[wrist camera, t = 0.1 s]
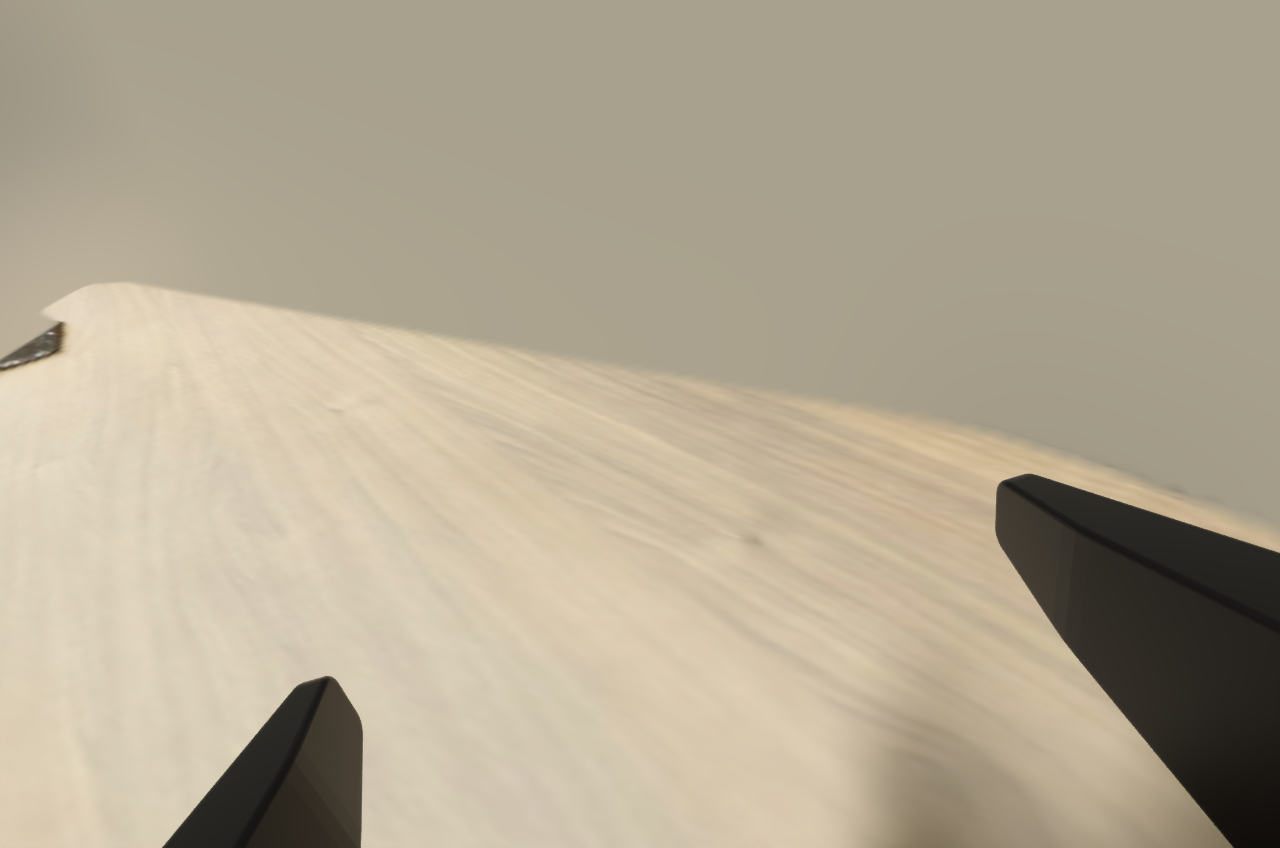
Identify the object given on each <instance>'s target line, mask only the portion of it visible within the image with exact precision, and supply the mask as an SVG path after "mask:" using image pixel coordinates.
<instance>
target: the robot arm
mask: <svg viewBox="0 0 1280 848" xmlns="http://www.w3.org/2000/svg"><path fill="white" fill-rule="evenodd" d="M995 531H996V536H997V539H998V542H999V544H1000V546H1001V547H1002V549H1003V551H1004V552H1005V554H1006V555H1007V557H1008V558H1009V560H1010V561H1011V563H1012V564H1013V566H1014V567H1015V569H1016V570H1017V572H1018V573H1019V575H1020V576H1021V578H1022V579H1023V581H1024V582H1025V584H1026V585H1027V587H1028V588H1029V590H1030V592H1031V593H1032V595H1033V596H1034V598H1035V599H1036V601H1037V602H1038V604H1039V605H1040V607H1041V608H1042V610H1043V611H1044V613H1045V614H1046V616H1047V617H1048V619H1049V620H1050V622H1051V623H1052V625H1053V626H1054V628H1055V629H1056V631H1057V632H1058V633H1059V635H1060V636H1061V638H1062V639H1063V640H1064V642H1065V643H1066V644H1067V646H1068V647H1069V648H1070V649H1071V651H1072V652H1073V653H1074V655H1075V656H1076V657H1077V658H1078V659H1079V661H1080V662H1081V663H1082V664H1083V666H1084V667H1085V668H1086V669H1087V670H1088V672H1089V673H1090V674H1091V675H1092V676H1093V678H1094V679H1095V680H1096V681H1097V683H1098V684H1099V685H1100V686H1101V687H1102V689H1103V690H1104V691H1105V692H1106V693H1107V695H1108V696H1109V697H1110V698H1111V700H1112V701H1113V702H1114V703H1115V704H1116V706H1117V707H1118V708H1119V709H1120V710H1121V712H1122V713H1123V714H1124V715H1125V717H1126V718H1127V719H1128V720H1129V721H1130V723H1131V724H1132V725H1133V726H1134V727H1135V729H1136V730H1137V731H1138V732H1139V734H1140V735H1141V736H1142V737H1143V738H1144V740H1145V741H1146V742H1147V743H1148V744H1149V746H1150V747H1151V748H1152V749H1153V751H1154V752H1155V753H1156V754H1157V755H1158V757H1159V758H1160V759H1161V760H1162V761H1163V763H1164V764H1165V765H1166V766H1167V768H1168V769H1169V770H1170V771H1171V772H1172V774H1173V775H1174V776H1175V777H1176V778H1177V780H1178V781H1179V782H1180V783H1181V785H1182V786H1183V787H1184V788H1185V789H1186V791H1187V792H1188V793H1189V794H1190V795H1191V797H1192V798H1193V799H1194V800H1195V802H1196V803H1197V804H1198V805H1199V806H1200V808H1201V809H1202V810H1203V811H1204V812H1205V814H1206V815H1207V816H1208V817H1209V819H1210V820H1211V821H1212V822H1213V823H1214V825H1215V826H1216V827H1217V828H1218V829H1219V831H1220V832H1221V833H1222V834H1223V836H1224V837H1225V838H1226V839H1227V840H1228V842H1229V843H1230V844H1231V845H1232V846H1233V848H1280V553H1278V552H1275V551H1272V550H1269V549H1266V548H1263V547H1260V546H1256V545H1253V544H1250V543H1247V542H1244V541H1241V540H1238V539H1235V538H1231V537H1228V536H1225V535H1222V534H1219V533H1216V532H1213V531H1210V530H1206V529H1203V528H1200V527H1197V526H1194V525H1191V524H1188V523H1185V522H1181V521H1178V520H1175V519H1172V518H1169V517H1166V516H1163V515H1160V514H1157V513H1153V512H1150V511H1147V510H1144V509H1141V508H1138V507H1135V506H1132V505H1128V504H1125V503H1122V502H1119V501H1116V500H1113V499H1110V498H1107V497H1103V496H1100V495H1097V494H1094V493H1091V492H1088V491H1085V490H1082V489H1078V488H1075V487H1072V486H1069V485H1066V484H1063V483H1060V482H1057V481H1054V480H1050V479H1047V478H1044V477H1041V476H1038V475H1034V474H1024V475H1020V476H1017V477H1013V478H1010V479H1006V480H1004V481H1002V482H1000V484H999V485H998V487H997V493H996V521H995ZM362 762H363V730H362V724H361V720H360V717H359V715H358V713H357V712H356V710H355V708H354V707H353V705H352V704H351V702H350V701H349V699H348V697H347V696H346V694H345V693H344V691H343V689H342V688H341V686H340V685H339V683H338V682H337V680H336V679H334V678H333V677H331V676H324V677H321V678H317V679H314V680H310V681H307V682H303V683H301V684H299V685H298V686H296V688H295V689H294V690H293V691H292V692H291V693H290V694H289V695H288V697H287V698H286V699H285V700H284V701H283V703H282V704H281V705H280V706H279V708H278V709H277V710H276V711H275V712H274V714H273V715H272V716H271V717H270V718H269V720H268V721H267V722H266V723H265V724H264V726H263V727H262V728H261V729H260V730H259V732H258V733H257V734H256V735H255V736H254V738H253V739H252V740H251V741H250V742H249V744H248V745H247V746H246V747H245V748H244V750H243V751H242V752H241V753H240V755H239V756H238V757H237V758H236V759H235V761H234V762H233V763H232V764H231V765H230V767H229V768H228V769H227V770H226V771H225V773H224V774H223V775H222V776H221V777H220V779H219V780H218V781H217V782H216V783H215V785H214V786H213V787H212V788H211V789H210V791H209V792H208V793H207V794H206V795H205V797H204V798H203V799H202V800H201V801H200V803H199V804H198V805H197V806H196V808H195V809H194V810H193V811H192V812H191V814H190V815H189V816H188V817H187V818H186V820H185V821H184V822H183V823H182V824H181V826H180V827H179V828H178V829H177V830H176V832H175V833H174V834H173V835H172V836H171V838H170V839H169V840H168V841H167V842H166V844H165V845H164V846H163V847H162V848H361V830H362Z"/></svg>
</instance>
